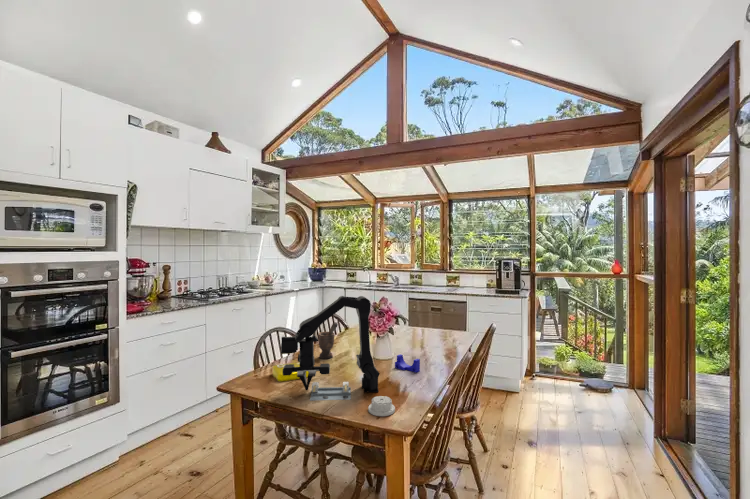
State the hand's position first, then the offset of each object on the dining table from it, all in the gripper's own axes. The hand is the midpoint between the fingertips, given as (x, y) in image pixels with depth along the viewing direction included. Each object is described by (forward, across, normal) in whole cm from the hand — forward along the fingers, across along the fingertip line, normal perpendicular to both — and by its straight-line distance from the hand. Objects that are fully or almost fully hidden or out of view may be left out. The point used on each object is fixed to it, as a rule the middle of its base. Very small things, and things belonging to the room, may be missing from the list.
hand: (306, 390), depth 155 cm
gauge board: (+2, -10, +2) cm, 10 cm away
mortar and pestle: (+2, -6, -50) cm, 51 cm away
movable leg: (+1, -3, +2) cm, 4 cm away
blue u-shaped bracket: (+3, -46, -29) cm, 55 cm away
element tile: (+3, +10, -22) cm, 25 cm away
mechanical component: (+3, -29, +16) cm, 33 cm away
